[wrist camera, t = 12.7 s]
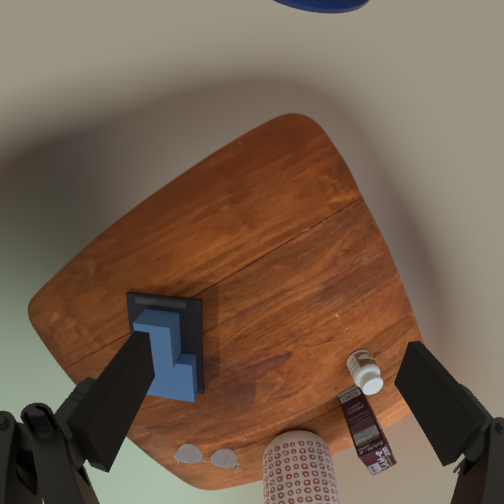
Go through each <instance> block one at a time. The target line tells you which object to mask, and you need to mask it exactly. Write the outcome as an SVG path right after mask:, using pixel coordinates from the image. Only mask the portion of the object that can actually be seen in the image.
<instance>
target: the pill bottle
mask: <svg viewBox="0 0 504 504" xmlns="http://www.w3.org/2000/svg"><path fill="white" fill-rule="evenodd" d="M347 367H348V369H349V371H350V373H351V375H352V378H353V380H354V382H355V384H356V385H357V386H358V387H360V388H361V390H362V391H363V393H364V394H366V395H372V394H375V393H377V392H378V391H379V390H380V389H381V388H382V386H383V380H382V378H381V377H380V369H379V368H378V366H377V364H376V363H375V361H374V359H373V358H372V356H371V355H370V353H369V352H368V351H366V350H358V351H356V352H354V353H352V354H351V355H350V356H349V358H348V360H347Z"/></svg>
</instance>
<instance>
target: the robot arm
mask: <svg viewBox="0 0 504 504" xmlns="http://www.w3.org/2000/svg"><path fill="white" fill-rule="evenodd" d="M154 378H155V372H154V365H153V358H152V350H151V342H150V333H149V332H142V331H136V330H135V331H134V332H133V334H132V335H131V336H130V337H129V339H128V340H127V341H126V343H125V344H124V345H123V346H122V348H121V349H120V350H119V351H118V353H117V354H116V355H115V356H114V358H113V359H112V360H111V362H110V363H109V364H108V366H107V367H106V368H105V369H104V371H103V372H102V373H101V375H100V376H99V377H98V379H97V380H96V379H93V378H90V377H88V378H86V379H85V380H83V381H81V382H80V383H79V384H78V385H77V386H76V387H75V389H74V390H73V392H71V394H70V395H69V397H68V398H67V399H66V400H65V401H64V402H63V404H62V405H61V406H60V408H59V409H58V410H57V412H56V413H55V414H53V412H52V410H51V408H50V407H49V406H47V405H46V404H43V403H33V404H29V405H28V406H26V407H25V408H24V409H23V410H22V412H21V419H22V421H23V423H24V424H23V423H19V422H17V421H16V420H15V418H14V416H13V415H12V414H11V413H9V412H6V411H0V504H43V501H44V504H100V503H99V501H98V499H97V497H96V495H95V492H94V490H93V487H92V485H91V482H90V480H89V477H88V475H87V472H86V469H85V468H84V466H83V464H84V462H85V460H86V459H87V460H88V462H89V463H90V465H91V466H92V467H95V468H97V469H100V470H103V471H105V472H109V471H110V468H111V466H112V464H113V462H114V460H115V458H116V456H117V454H118V451H119V449H120V447H121V445H122V443H123V441H124V439H125V437H126V435H127V433H128V431H129V428H130V426H131V424H132V422H133V420H134V418H135V416H136V414H137V412H138V410H139V408H140V406H141V404H142V402H143V400H144V398H145V396H146V394H147V392H148V390H149V388H150V386H151V384H152V382H153V380H154ZM394 384H395V385H396V387H397V388H398V390H399V392H400V393H401V395H402V396H403V398H404V400H405V401H406V403H407V405H408V406H409V408H410V409H411V411H412V413H413V414H414V416H415V418H416V420H417V421H418V423H419V424H420V426H421V428H422V430H423V431H424V433H425V435H426V437H427V438H428V440H429V442H430V443H431V445H432V447H433V449H434V451H435V452H436V454H437V456H438V458H439V460H440V461H441V463H442V465H443V466H446V465H449V464H450V463H453V462H456V460H457V459H458V458H459V457H460V456H461V454H462V453H463V454H464V455H465V458H464V459H463V460H462V461H461V462H460V463H459V465H458V466H457V467H456V468H455V469H454V471H453V473H455V472H456V471H457V470H458V469H459V468H460V471H459V472H458V474H459V476H458V479H457V483H456V487H455V490H454V494H453V497H452V500H451V503H450V504H504V418H501V417H497V418H493V417H492V416H491V415H490V414H489V412H488V411H487V410H486V409H485V408H484V406H483V405H482V404H481V403H480V402H479V401H478V399H477V398H476V397H475V396H474V395H473V394H472V392H471V391H470V390H469V389H468V388H466V387H465V386H463V385H462V384H459V383H458V382H457V381H456V380H455V379H454V378H453V377H452V375H450V374H449V372H448V371H447V370H446V369H445V368H444V367H443V366H442V364H441V363H440V362H439V361H438V360H437V359H436V358H435V357H434V356H433V355H432V353H431V352H430V351H429V350H428V349H427V348H426V347H425V346H424V345H423V344H422V343H421V342H420V341H415V342H409V343H408V346H407V349H406V352H405V355H404V358H403V361H402V363H401V366H400V369H399V371H398V374H397V377H396V379H395V382H394ZM42 497H43V500H42Z"/></svg>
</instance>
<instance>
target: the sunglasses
mask: <svg viewBox="0 0 504 504" xmlns="http://www.w3.org/2000/svg"><path fill="white" fill-rule="evenodd" d="M175 456H176V457H177V459H178V460H179V461H181V462H186V463H197V462H199V461H203V460H201V459H202V458H203V454H202V453H201V452H200V450H199V449H198V448H197V447H196V446H194V445H192V444H184V445H182V446H180V447H179V449H178V450H177V453H176V455H174V457H175ZM175 459H176V458H175ZM177 459H176V460H177ZM210 459H211V461H209V462H211V463H212V464H213V465H215V466H218V467H223V468H232V467H234V466H235V465H236V464H237V465H238V467H239V463H237V458H236V455H235V453H234V452H233V451H232V450H229V449H220V450H218V451H216V452H215V453H214V454H213V455H212V456H211V457H210ZM177 462H178V461H177ZM203 462H206V461H203ZM178 464H179V462H178ZM180 464H181V463H180ZM236 471H238V469H236Z"/></svg>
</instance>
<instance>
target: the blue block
mask: <svg viewBox="0 0 504 504" xmlns="http://www.w3.org/2000/svg"><path fill="white" fill-rule="evenodd" d="M133 326H134V331H135V330H136V331H142V332H149V333H150V342H151V350H152V358H153V365H154V366H157V367H163V368H169V369H174V366H175V364H176V362H177V360H178V357H179V355H180V353H181V341H180V322H179V313H177V312H168V311H160V310H152V309H145V310H144V311H143V312H142V313H141V314H140V315H139V317H138V318H137V319H136V320H135V321H134V322H133Z"/></svg>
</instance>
